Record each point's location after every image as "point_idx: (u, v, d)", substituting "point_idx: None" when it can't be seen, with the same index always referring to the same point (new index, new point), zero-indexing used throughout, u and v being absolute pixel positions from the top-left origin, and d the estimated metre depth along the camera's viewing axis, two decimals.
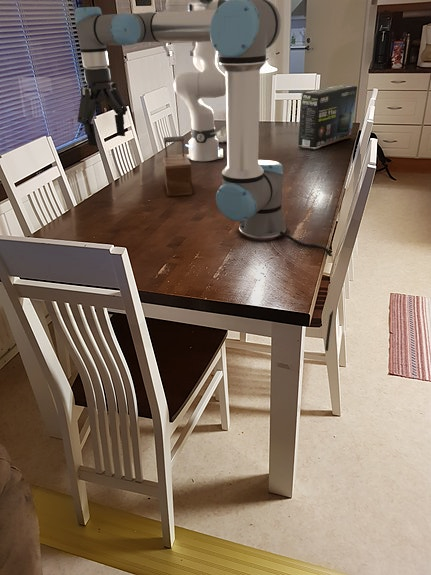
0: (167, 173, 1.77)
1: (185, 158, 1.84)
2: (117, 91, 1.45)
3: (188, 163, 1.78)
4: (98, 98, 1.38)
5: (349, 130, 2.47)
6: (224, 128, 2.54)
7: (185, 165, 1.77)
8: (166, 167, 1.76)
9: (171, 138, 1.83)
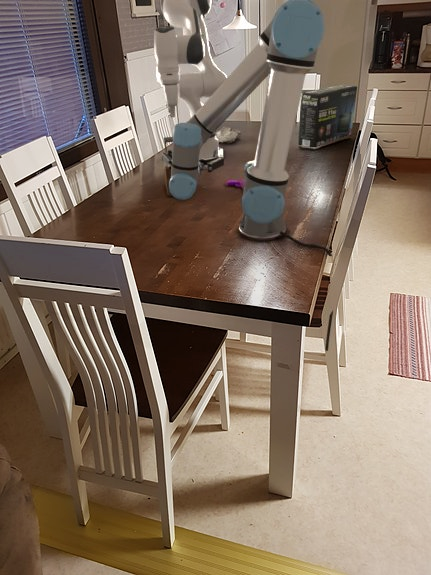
0: (167, 173, 1.77)
1: None
2: (170, 159, 1.44)
3: None
4: (200, 159, 1.44)
5: (349, 130, 2.47)
6: (224, 128, 2.54)
7: None
8: (166, 167, 1.76)
9: (171, 138, 1.83)
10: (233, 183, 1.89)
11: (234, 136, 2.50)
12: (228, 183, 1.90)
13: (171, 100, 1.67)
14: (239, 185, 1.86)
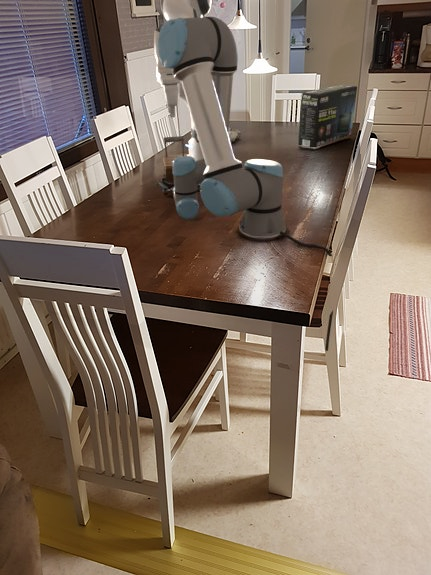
0: (167, 173, 1.77)
1: None
2: (164, 186, 1.69)
3: None
4: None
5: (349, 130, 2.47)
6: None
7: None
8: (166, 167, 1.76)
9: (171, 138, 1.83)
10: None
11: (234, 136, 2.50)
12: None
13: (171, 100, 1.67)
14: None
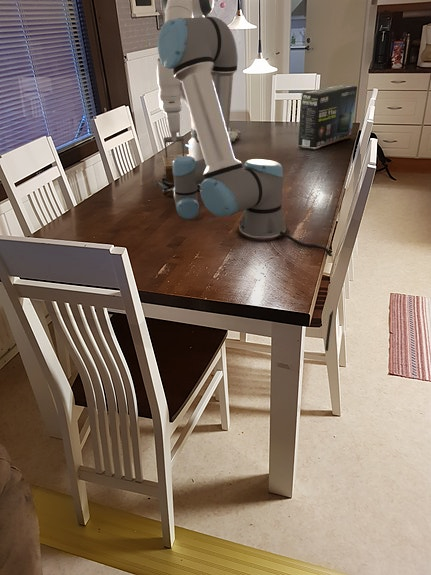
0: (167, 173, 1.77)
1: None
2: (164, 186, 1.69)
3: None
4: None
5: (349, 130, 2.47)
6: None
7: None
8: (166, 167, 1.76)
9: (171, 138, 1.83)
10: None
11: (234, 136, 2.50)
12: None
13: (173, 127, 1.72)
14: None
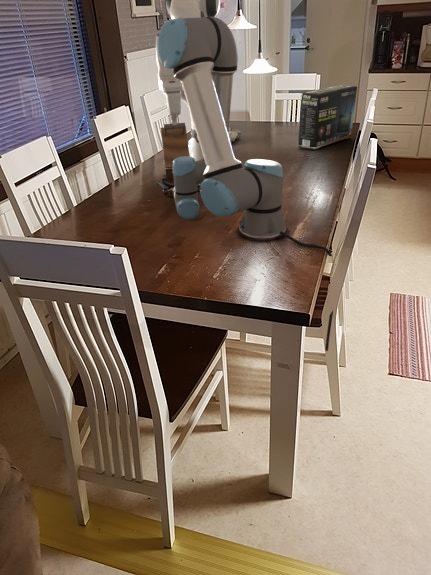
0: (167, 173, 1.77)
1: (185, 143, 1.77)
2: (164, 186, 1.69)
3: None
4: None
5: (349, 130, 2.47)
6: None
7: None
8: (166, 167, 1.76)
9: (172, 127, 1.70)
10: None
11: (234, 136, 2.50)
12: None
13: (174, 108, 1.58)
14: None
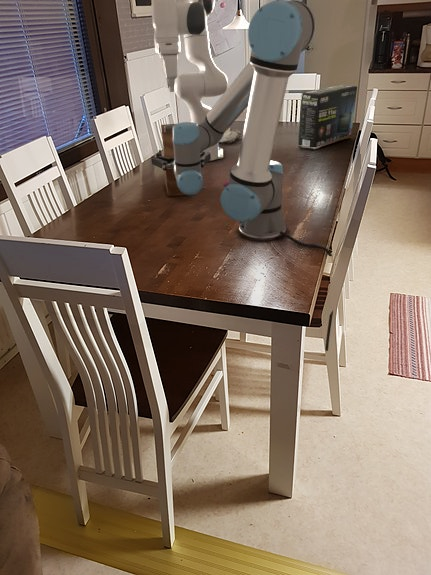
0: (167, 173, 1.77)
1: None
2: (162, 160, 1.50)
3: None
4: None
5: (349, 130, 2.47)
6: None
7: None
8: None
9: None
10: None
11: (234, 136, 2.50)
12: None
13: (170, 71, 1.54)
14: None
